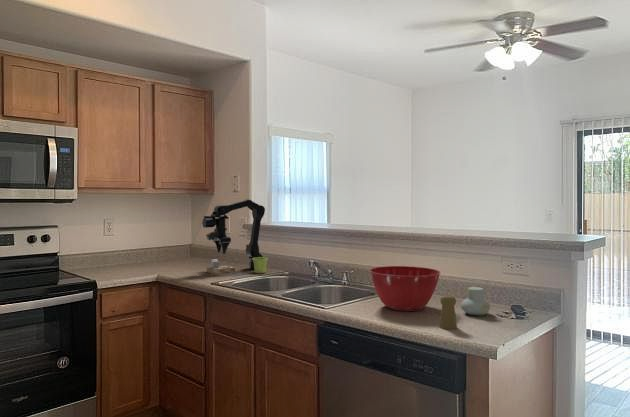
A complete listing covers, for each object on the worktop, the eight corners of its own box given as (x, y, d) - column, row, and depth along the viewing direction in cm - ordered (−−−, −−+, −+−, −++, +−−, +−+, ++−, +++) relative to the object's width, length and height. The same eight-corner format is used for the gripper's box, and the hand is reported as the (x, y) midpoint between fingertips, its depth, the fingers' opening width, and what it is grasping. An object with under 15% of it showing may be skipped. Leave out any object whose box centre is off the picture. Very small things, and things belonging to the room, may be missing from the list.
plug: (217, 272, 290) (217, 259, 290) (219, 273, 287) (218, 259, 286) (211, 273, 288) (211, 259, 288) (213, 273, 285) (212, 260, 285)
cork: (453, 324, 175) (454, 294, 175) (459, 329, 169) (459, 297, 168) (437, 324, 175) (437, 294, 174) (441, 329, 169) (442, 297, 168)
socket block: (229, 270, 297) (229, 265, 297) (235, 273, 288) (235, 267, 288) (206, 272, 290) (206, 266, 290) (211, 274, 281) (211, 269, 281)
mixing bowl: (385, 297, 221) (385, 263, 220) (448, 304, 206) (449, 268, 206) (358, 310, 197) (358, 271, 196) (427, 319, 182) (427, 278, 181)
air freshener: (473, 309, 197) (473, 285, 197) (492, 313, 191) (492, 288, 191) (458, 314, 190) (458, 288, 190) (478, 318, 184) (478, 291, 184)
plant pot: (271, 272, 290) (271, 258, 289) (261, 274, 282) (261, 259, 281) (259, 271, 295) (259, 256, 294) (248, 273, 287) (248, 258, 286)
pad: (242, 272, 290) (242, 271, 290) (248, 274, 282) (248, 273, 282) (228, 273, 285) (228, 272, 285) (233, 276, 278) (233, 275, 278)
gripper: (202, 226, 294) (203, 252, 294) (212, 228, 277) (212, 256, 278) (220, 225, 299) (221, 251, 300) (230, 227, 283) (231, 254, 283)
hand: (221, 253), depth 290 cm, fingers open, 9 cm apart
